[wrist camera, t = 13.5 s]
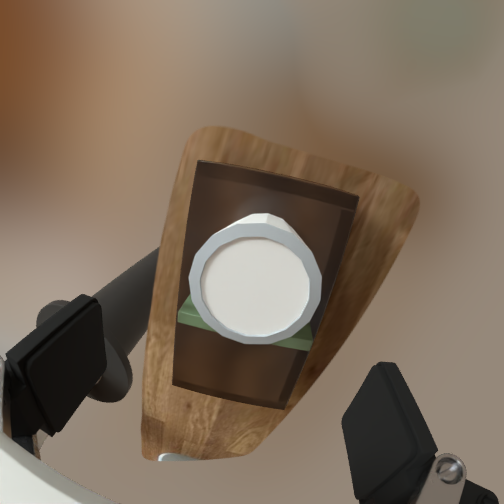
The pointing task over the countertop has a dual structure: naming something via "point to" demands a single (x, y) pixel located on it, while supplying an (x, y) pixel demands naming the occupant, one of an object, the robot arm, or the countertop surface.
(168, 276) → the countertop surface
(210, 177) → the tray
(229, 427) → the countertop surface
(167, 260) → the countertop surface
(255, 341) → the white cylinder
